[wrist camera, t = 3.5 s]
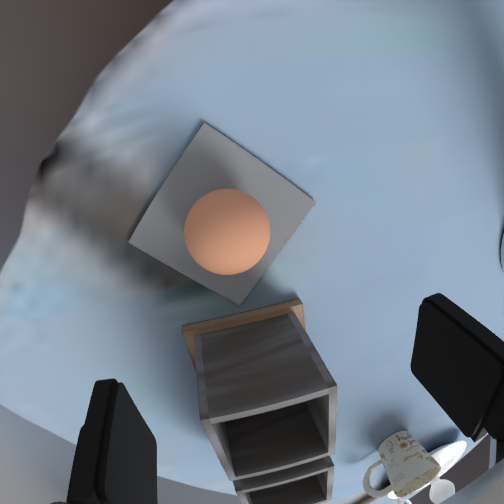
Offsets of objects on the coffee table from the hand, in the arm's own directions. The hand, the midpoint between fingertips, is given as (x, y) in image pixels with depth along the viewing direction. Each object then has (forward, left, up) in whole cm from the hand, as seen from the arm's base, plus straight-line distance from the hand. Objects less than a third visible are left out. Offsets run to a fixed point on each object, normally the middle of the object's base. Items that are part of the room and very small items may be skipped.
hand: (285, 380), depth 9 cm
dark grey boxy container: (+14, +14, -18) cm, 27 cm away
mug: (+18, +44, -19) cm, 51 cm away
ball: (0, 0, -15) cm, 15 cm away
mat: (0, 0, -18) cm, 18 cm away
